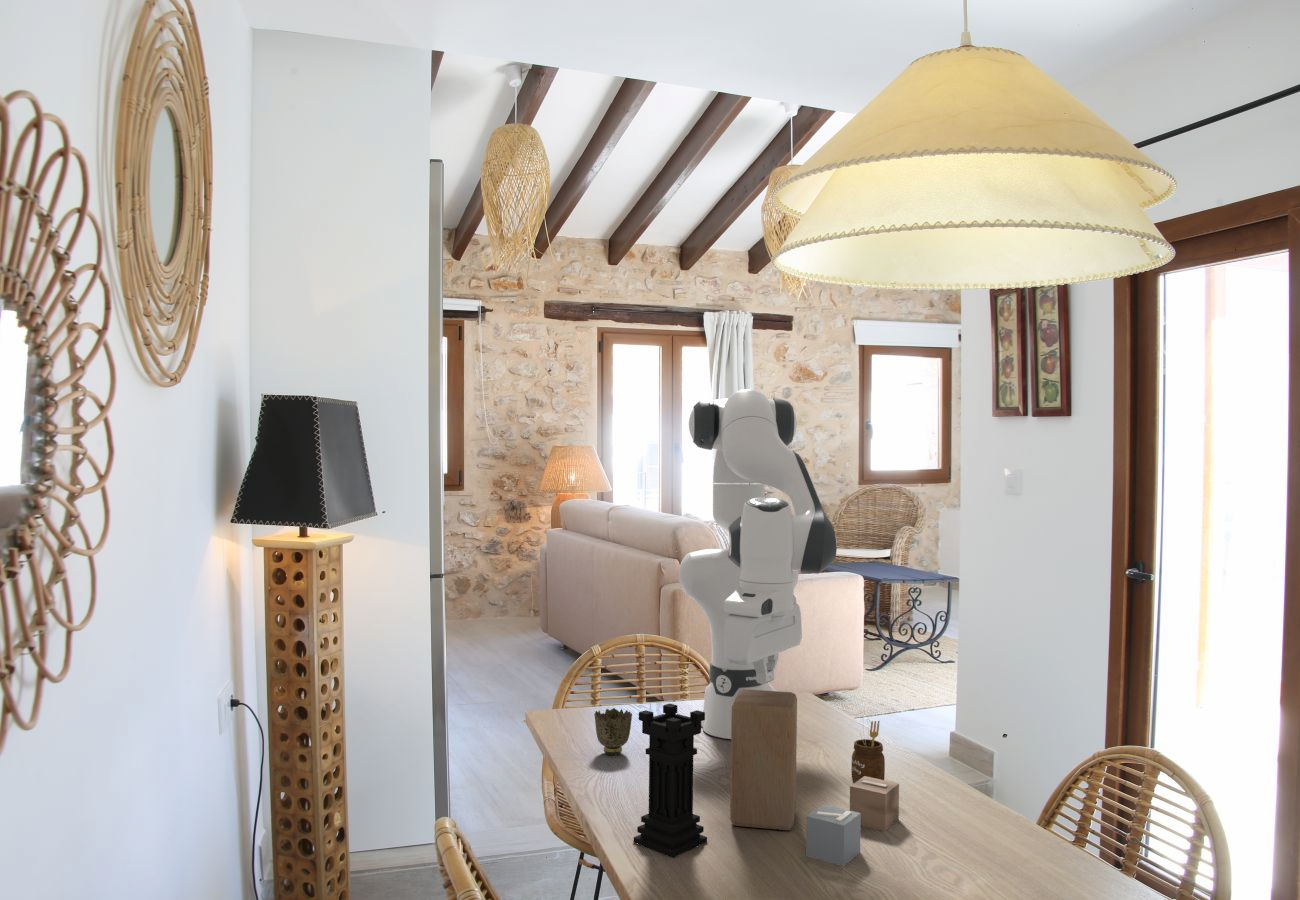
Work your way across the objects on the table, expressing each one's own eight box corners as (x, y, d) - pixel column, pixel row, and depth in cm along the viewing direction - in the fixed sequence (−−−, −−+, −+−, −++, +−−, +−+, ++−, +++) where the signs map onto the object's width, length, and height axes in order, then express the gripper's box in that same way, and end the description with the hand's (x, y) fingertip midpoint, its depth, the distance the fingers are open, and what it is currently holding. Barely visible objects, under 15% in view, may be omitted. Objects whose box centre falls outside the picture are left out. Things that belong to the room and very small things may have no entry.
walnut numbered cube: (864, 811, 163) (864, 774, 163) (898, 819, 159) (899, 781, 159) (849, 822, 158) (850, 784, 158) (884, 831, 154) (885, 792, 154)
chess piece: (633, 842, 149) (635, 712, 149) (668, 827, 155) (669, 702, 155) (672, 858, 143) (674, 722, 143) (707, 842, 149) (708, 712, 149)
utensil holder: (876, 775, 181) (877, 710, 181) (890, 787, 174) (891, 720, 174) (846, 776, 180) (847, 711, 180) (859, 788, 173) (859, 721, 173)
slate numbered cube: (823, 843, 150) (823, 802, 150) (860, 852, 146) (860, 811, 146) (806, 856, 145) (806, 814, 145) (843, 866, 141) (844, 823, 141)
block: (792, 833, 153) (794, 706, 153) (729, 827, 155) (731, 702, 155) (796, 810, 163) (797, 691, 163) (736, 805, 165) (737, 687, 165)
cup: (619, 745, 197) (619, 706, 197) (638, 755, 191) (639, 714, 191) (587, 751, 193) (587, 711, 193) (606, 761, 187) (606, 720, 186)
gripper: (778, 588, 169) (777, 667, 169) (717, 603, 152) (716, 691, 152) (811, 591, 165) (810, 672, 166) (753, 608, 149) (752, 698, 149)
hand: (765, 681), depth 159 cm, fingers closed
